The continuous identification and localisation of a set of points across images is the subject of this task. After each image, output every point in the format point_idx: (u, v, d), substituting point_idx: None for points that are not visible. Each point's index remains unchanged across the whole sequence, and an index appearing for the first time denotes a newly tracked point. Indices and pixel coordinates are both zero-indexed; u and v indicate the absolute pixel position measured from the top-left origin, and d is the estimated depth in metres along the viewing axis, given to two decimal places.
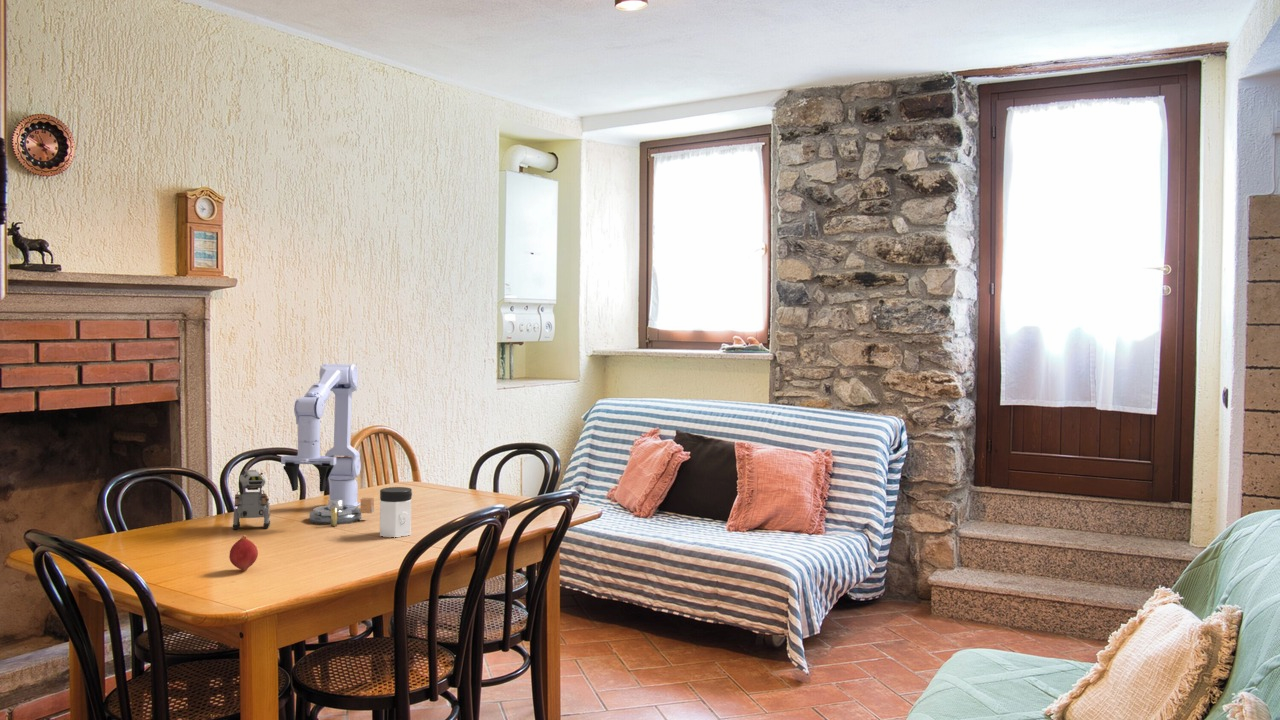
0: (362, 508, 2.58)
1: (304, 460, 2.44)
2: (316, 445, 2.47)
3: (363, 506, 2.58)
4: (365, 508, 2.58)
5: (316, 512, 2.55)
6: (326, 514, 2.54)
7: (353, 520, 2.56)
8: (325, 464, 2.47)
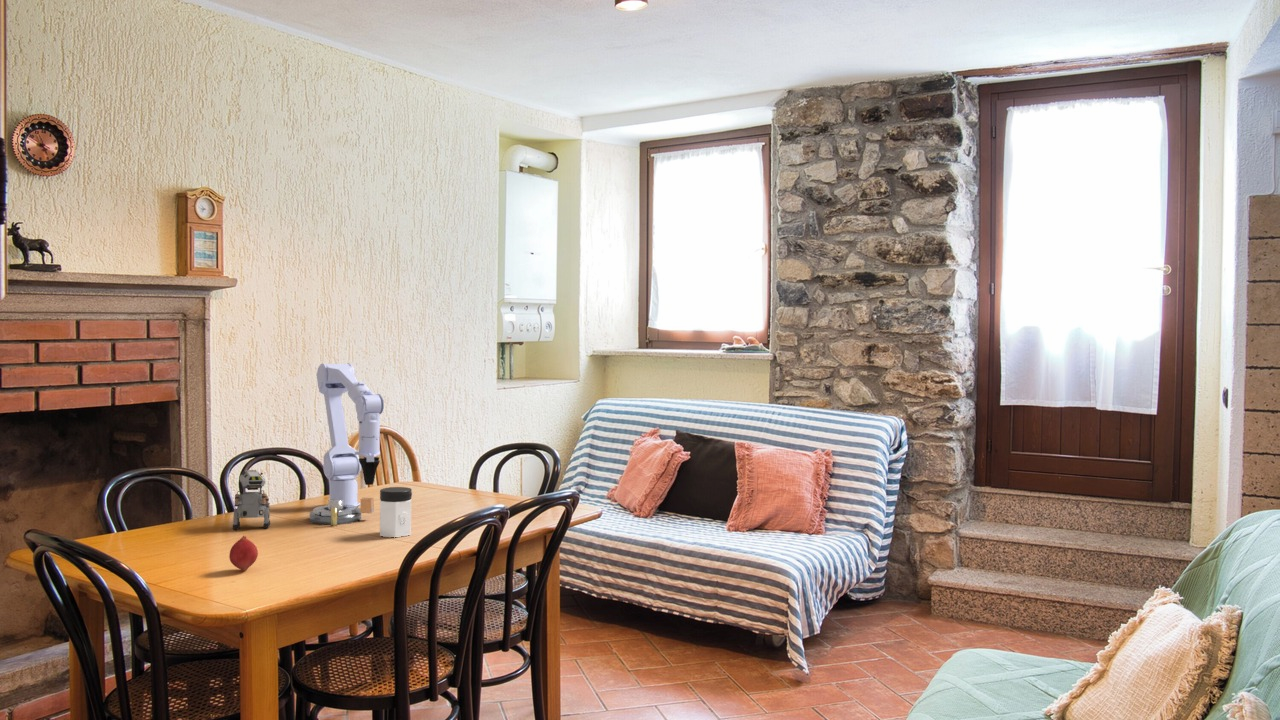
0: (362, 508, 2.58)
1: (354, 453, 2.60)
2: (366, 441, 2.59)
3: (363, 506, 2.58)
4: (365, 508, 2.58)
5: (316, 512, 2.55)
6: (326, 514, 2.54)
7: (353, 520, 2.56)
8: (366, 460, 2.57)
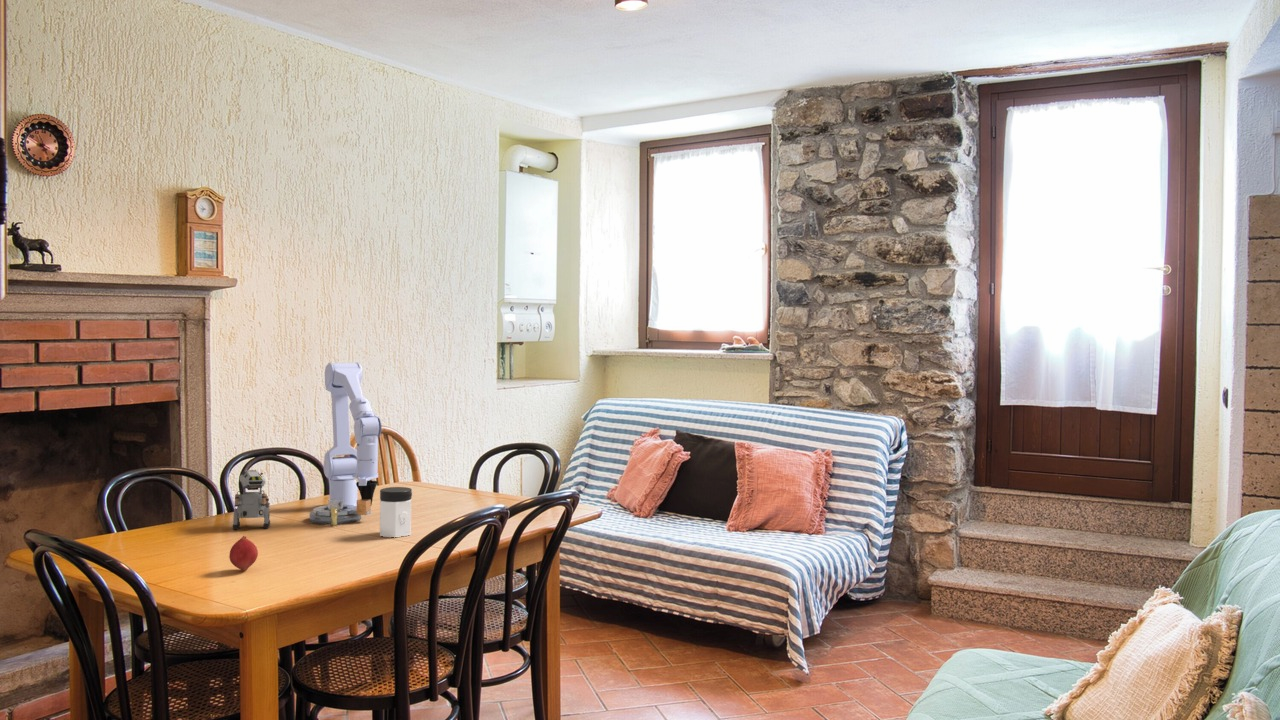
0: (358, 509, 2.56)
1: None
2: (362, 464, 2.56)
3: (359, 507, 2.56)
4: (360, 509, 2.56)
5: (314, 511, 2.56)
6: (321, 514, 2.54)
7: (353, 520, 2.56)
8: None
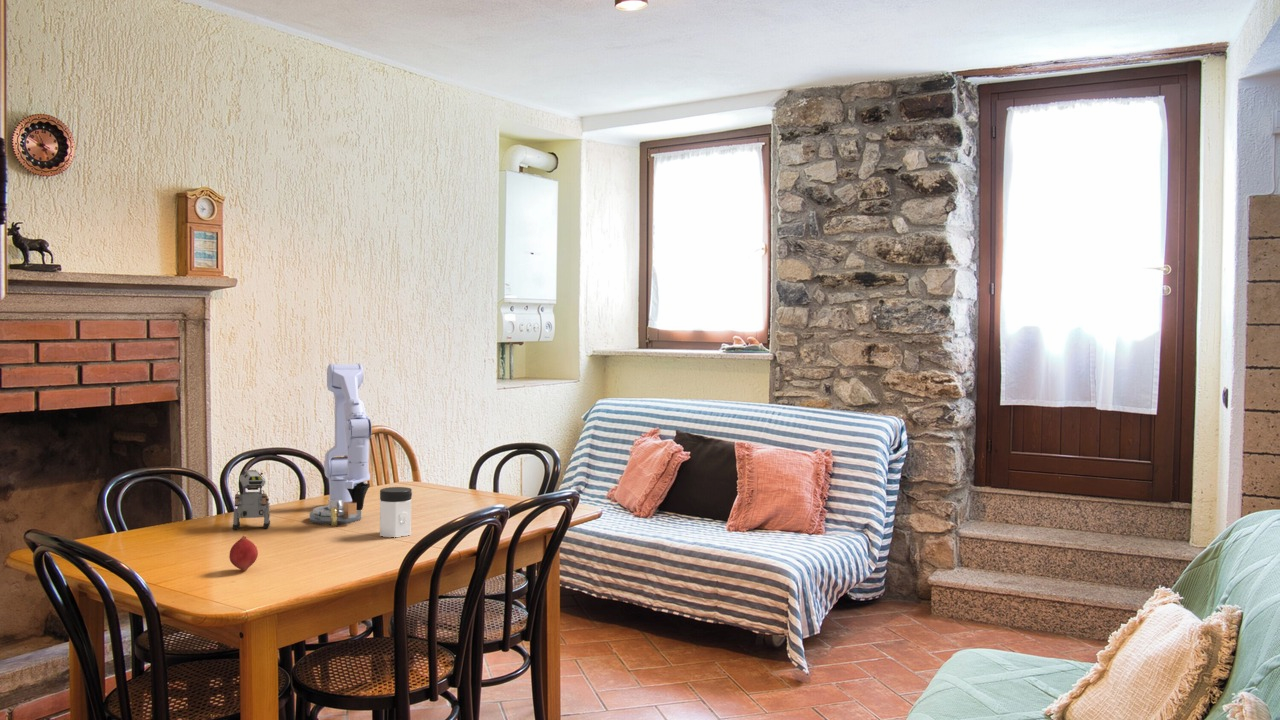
0: (344, 512, 2.53)
1: None
2: (351, 466, 2.52)
3: (344, 510, 2.52)
4: (345, 512, 2.52)
5: None
6: (315, 512, 2.56)
7: (353, 520, 2.56)
8: None
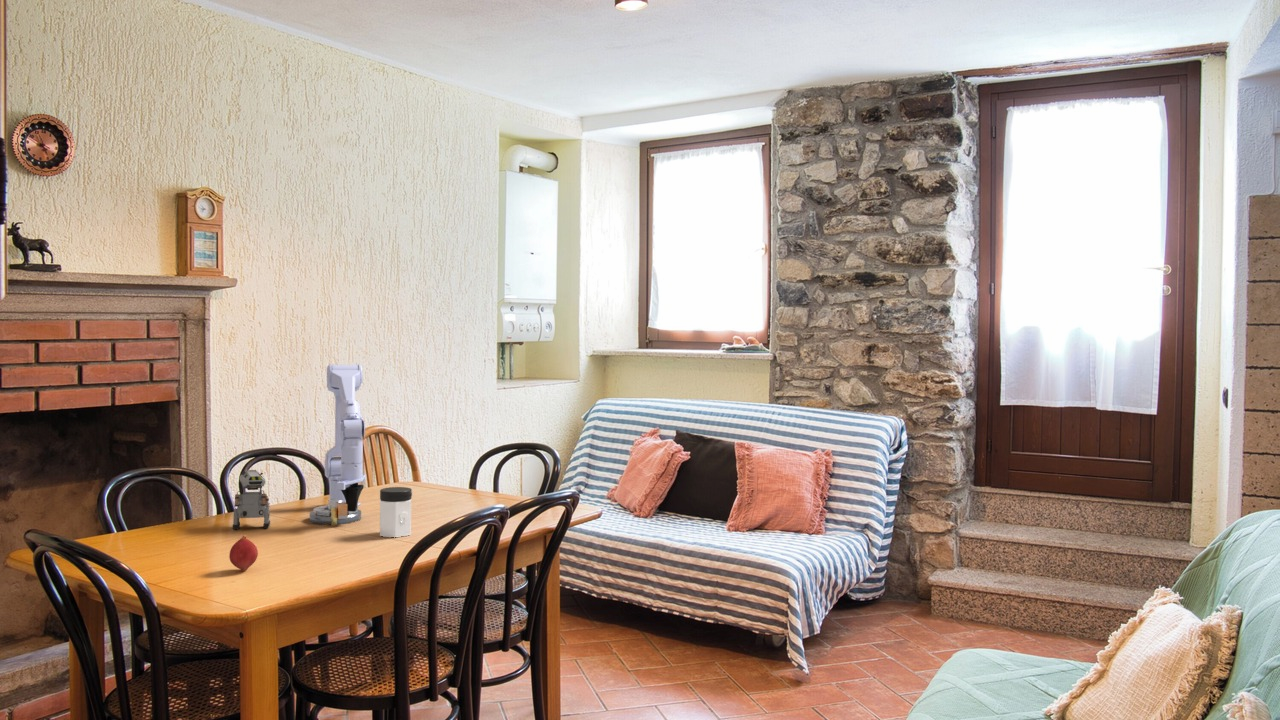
0: None
1: None
2: (344, 467, 2.50)
3: None
4: (337, 513, 2.51)
5: None
6: (313, 511, 2.57)
7: (353, 520, 2.56)
8: None
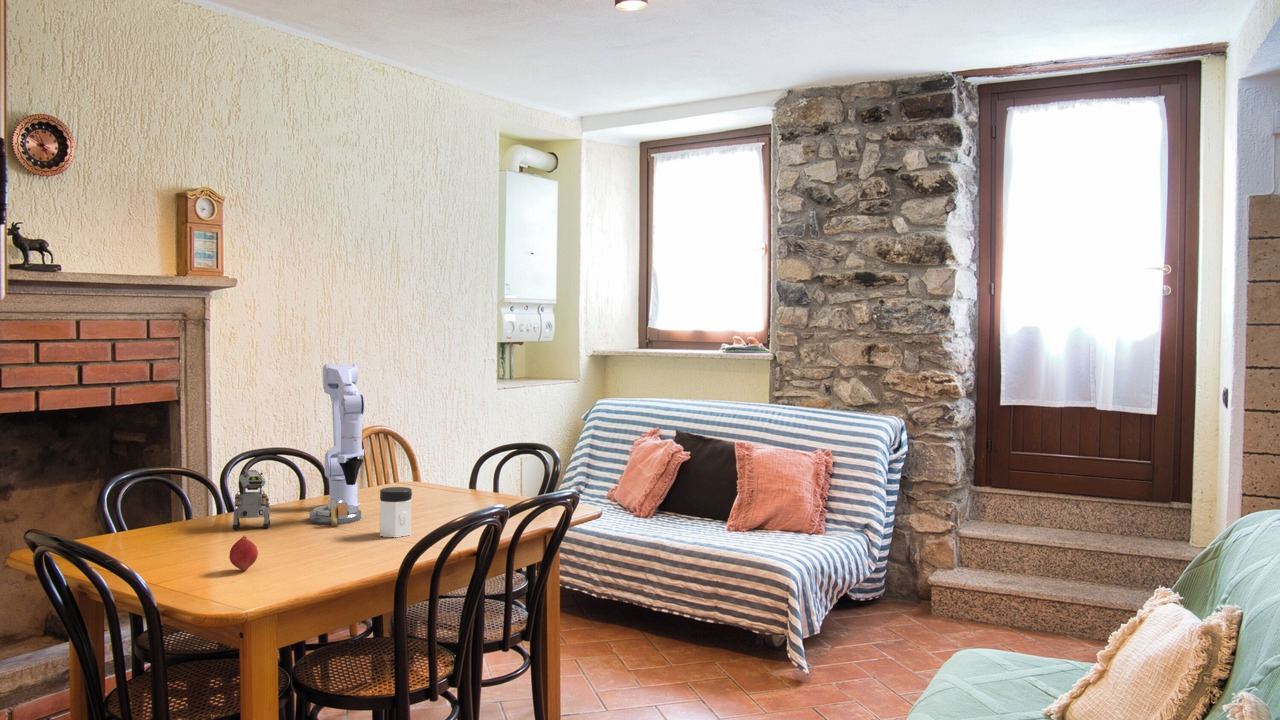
0: None
1: None
2: (344, 441, 2.57)
3: None
4: (337, 513, 2.51)
5: None
6: (313, 511, 2.57)
7: (353, 520, 2.56)
8: None
